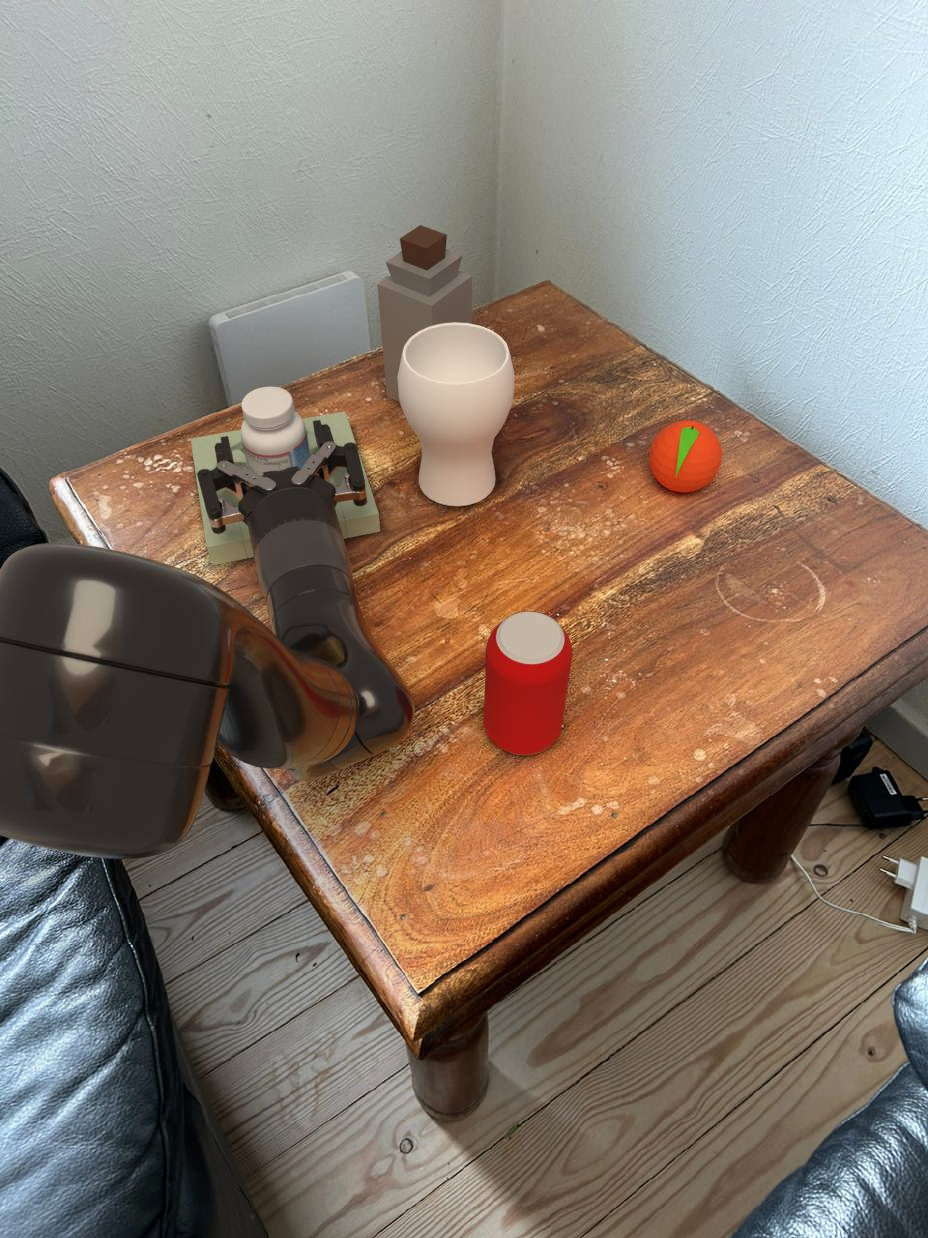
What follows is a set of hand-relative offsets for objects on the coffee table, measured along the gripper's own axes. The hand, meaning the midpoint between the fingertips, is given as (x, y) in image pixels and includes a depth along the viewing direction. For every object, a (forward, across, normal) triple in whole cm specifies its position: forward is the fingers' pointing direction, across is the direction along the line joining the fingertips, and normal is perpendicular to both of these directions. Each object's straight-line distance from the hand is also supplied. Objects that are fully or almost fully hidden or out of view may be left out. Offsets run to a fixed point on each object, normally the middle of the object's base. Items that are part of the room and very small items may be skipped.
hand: (271, 435), depth 86 cm
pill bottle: (0, 0, +8) cm, 8 cm away
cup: (-3, -17, +8) cm, 19 cm away
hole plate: (0, 0, +7) cm, 7 cm away
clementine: (-10, -38, +8) cm, 40 cm away
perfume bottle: (+12, -18, +8) cm, 23 cm away
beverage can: (-33, -14, +8) cm, 36 cm away
